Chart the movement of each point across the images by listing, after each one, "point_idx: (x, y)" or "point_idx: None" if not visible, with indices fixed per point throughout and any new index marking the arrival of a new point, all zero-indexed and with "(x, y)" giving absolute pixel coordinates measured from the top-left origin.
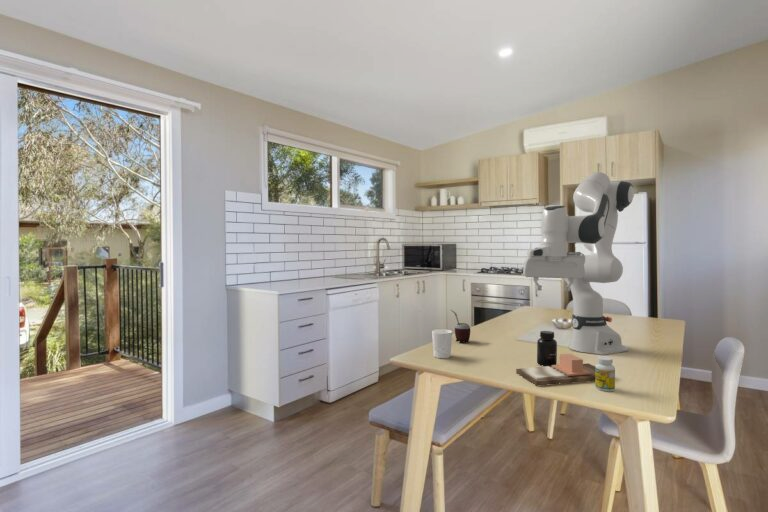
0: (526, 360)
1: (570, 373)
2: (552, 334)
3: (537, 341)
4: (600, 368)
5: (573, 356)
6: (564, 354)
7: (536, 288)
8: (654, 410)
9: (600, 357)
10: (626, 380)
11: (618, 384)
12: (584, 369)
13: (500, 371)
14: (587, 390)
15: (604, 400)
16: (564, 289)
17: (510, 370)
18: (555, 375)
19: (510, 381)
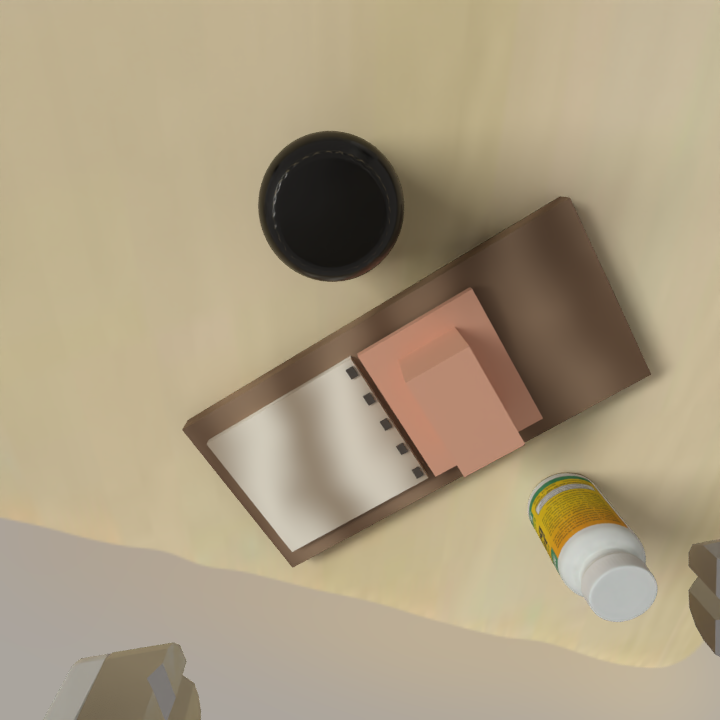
0: (208, 153)
1: (442, 464)
2: (374, 253)
3: (260, 222)
4: (574, 592)
5: (482, 399)
6: (435, 372)
7: (67, 679)
8: (664, 641)
9: (604, 589)
10: (689, 363)
11: (633, 430)
12: (519, 380)
13: (108, 415)
14: (488, 537)
15: (529, 612)
16: (708, 556)
17: (152, 383)
18: (372, 498)
19: (182, 533)
